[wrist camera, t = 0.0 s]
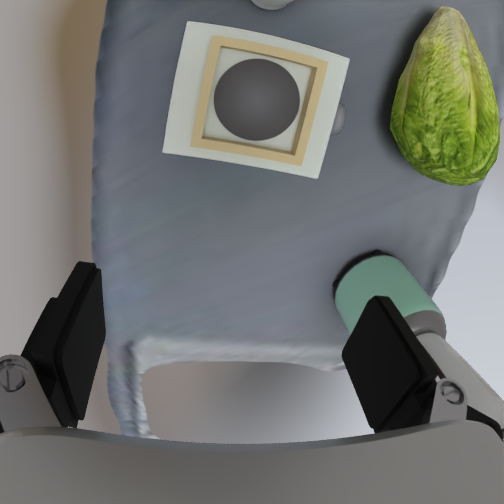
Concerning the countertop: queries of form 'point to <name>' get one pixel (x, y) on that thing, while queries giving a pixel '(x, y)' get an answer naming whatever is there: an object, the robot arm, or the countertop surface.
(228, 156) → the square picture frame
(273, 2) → the drinking glass
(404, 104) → the lettuce
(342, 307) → the green blender
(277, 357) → the countertop surface
